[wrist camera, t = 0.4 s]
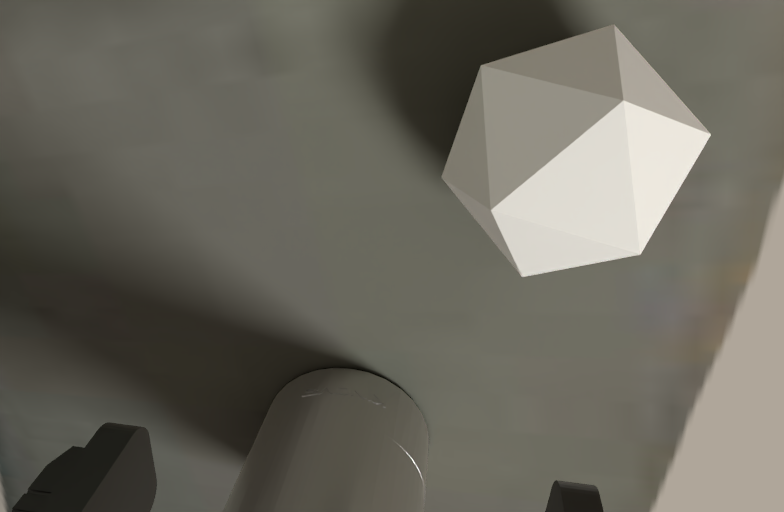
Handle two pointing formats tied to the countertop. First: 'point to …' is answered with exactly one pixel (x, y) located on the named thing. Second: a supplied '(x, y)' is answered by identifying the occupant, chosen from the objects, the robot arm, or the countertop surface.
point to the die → (572, 152)
